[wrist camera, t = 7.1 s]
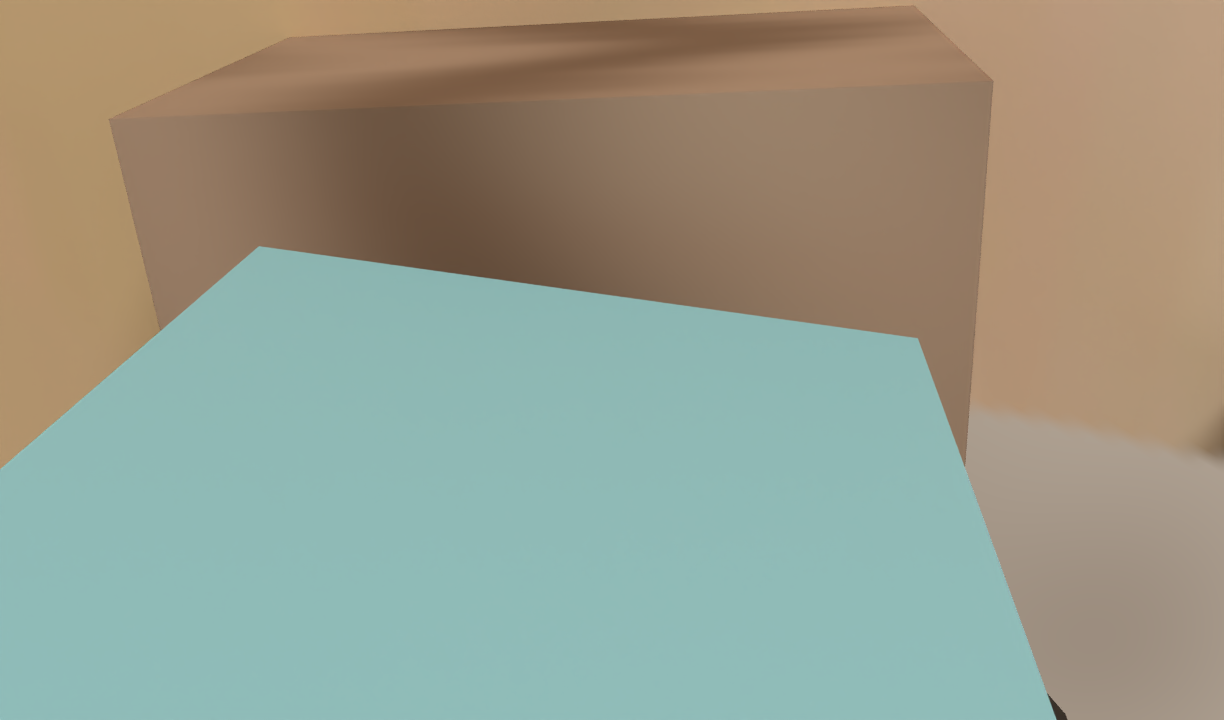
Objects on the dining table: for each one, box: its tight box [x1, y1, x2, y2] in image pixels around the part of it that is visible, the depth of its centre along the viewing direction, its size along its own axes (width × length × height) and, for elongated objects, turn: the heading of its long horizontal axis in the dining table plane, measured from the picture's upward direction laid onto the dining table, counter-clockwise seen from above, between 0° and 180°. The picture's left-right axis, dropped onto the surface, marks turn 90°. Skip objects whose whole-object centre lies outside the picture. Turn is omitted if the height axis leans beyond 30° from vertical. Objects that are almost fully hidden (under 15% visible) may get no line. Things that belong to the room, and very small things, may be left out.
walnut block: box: [109, 6, 993, 467], centre depth 14 cm, size 8×8×5 cm
